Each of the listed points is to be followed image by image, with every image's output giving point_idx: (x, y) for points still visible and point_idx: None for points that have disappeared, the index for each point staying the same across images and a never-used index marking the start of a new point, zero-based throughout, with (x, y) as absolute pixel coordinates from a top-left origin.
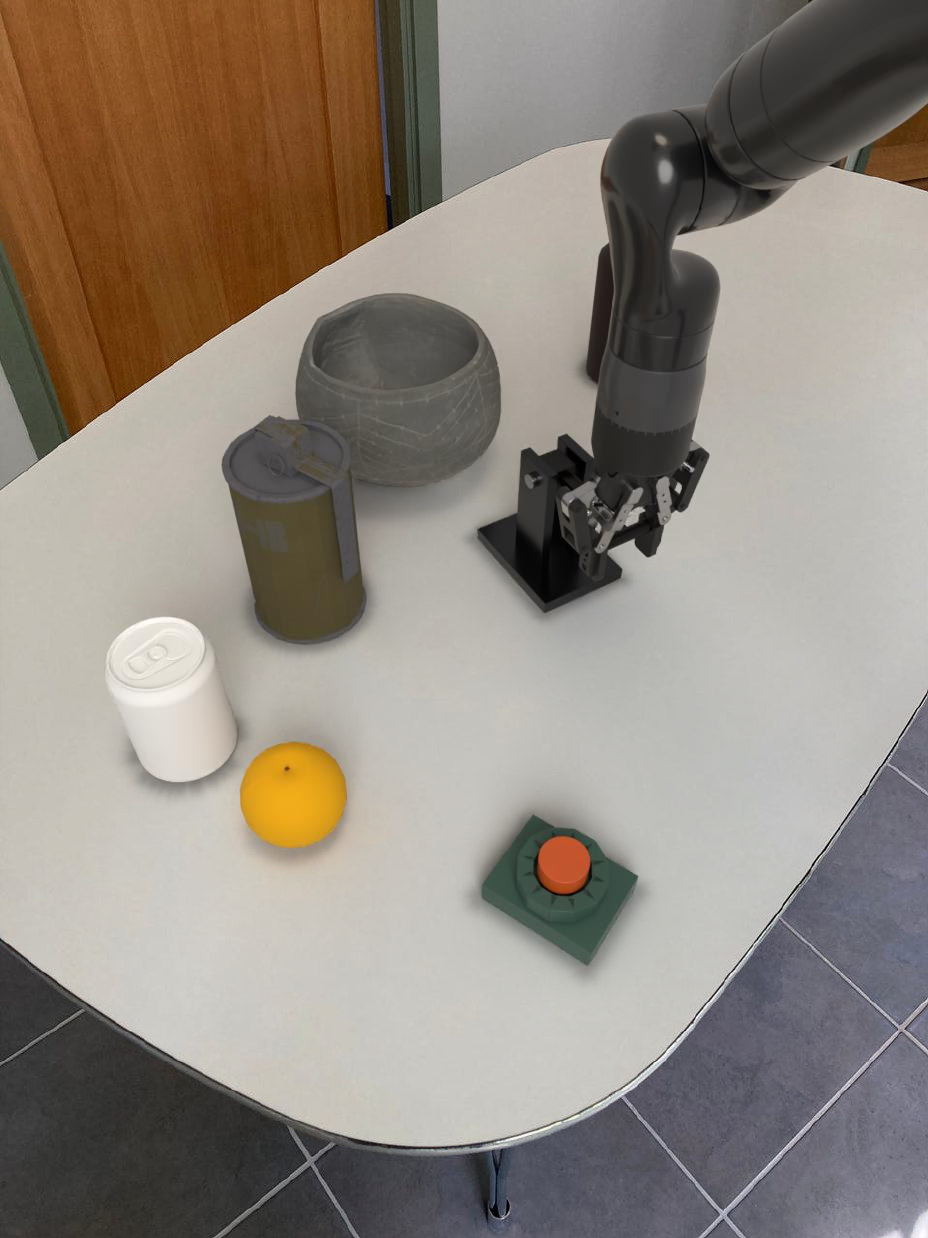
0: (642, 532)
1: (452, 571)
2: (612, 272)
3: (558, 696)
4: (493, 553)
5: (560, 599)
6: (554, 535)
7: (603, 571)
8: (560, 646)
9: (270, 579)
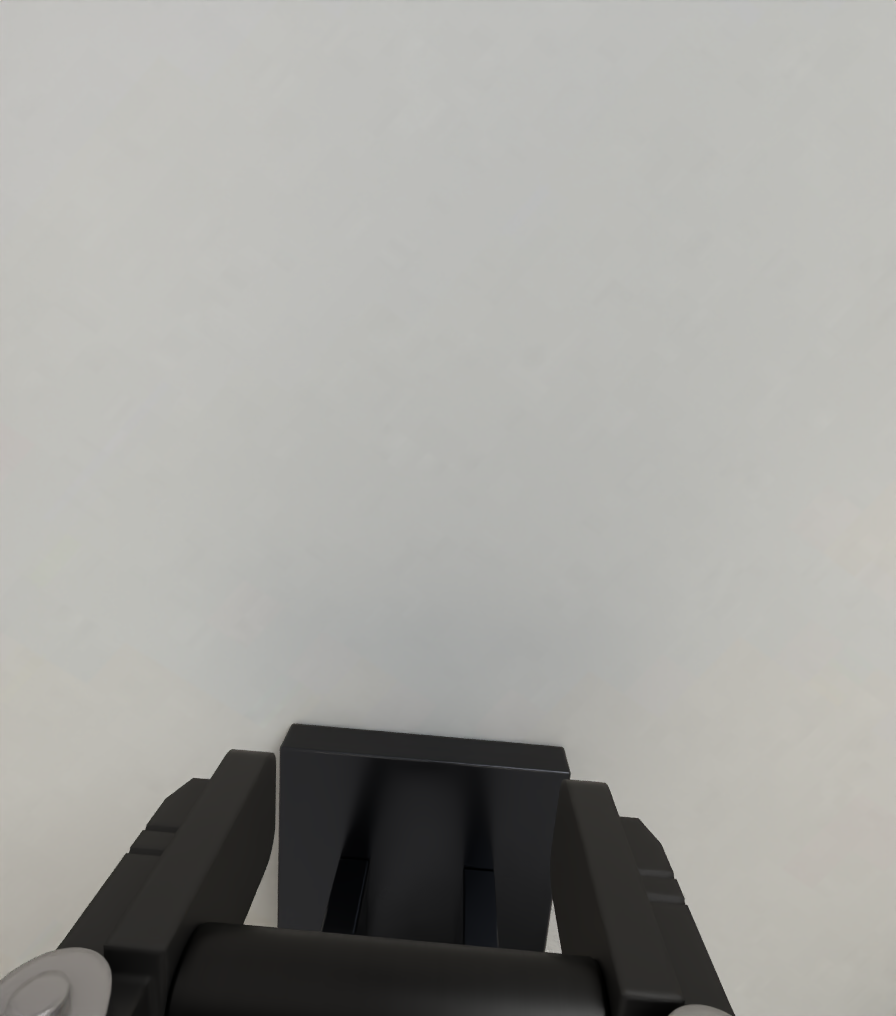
0: (268, 963)
1: None
2: None
3: (749, 500)
4: None
5: (514, 761)
6: None
7: (584, 818)
8: (611, 634)
9: None
